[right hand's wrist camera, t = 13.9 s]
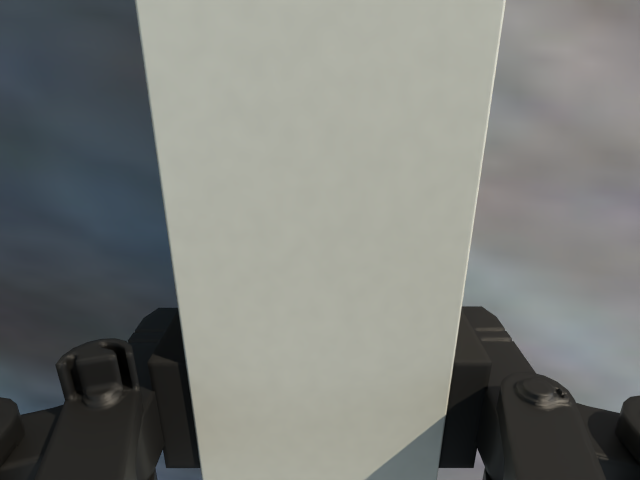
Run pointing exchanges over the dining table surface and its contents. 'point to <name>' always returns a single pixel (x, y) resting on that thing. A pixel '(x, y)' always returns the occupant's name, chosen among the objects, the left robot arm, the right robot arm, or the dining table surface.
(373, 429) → the plank
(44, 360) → the dining table surface
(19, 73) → the dining table surface
